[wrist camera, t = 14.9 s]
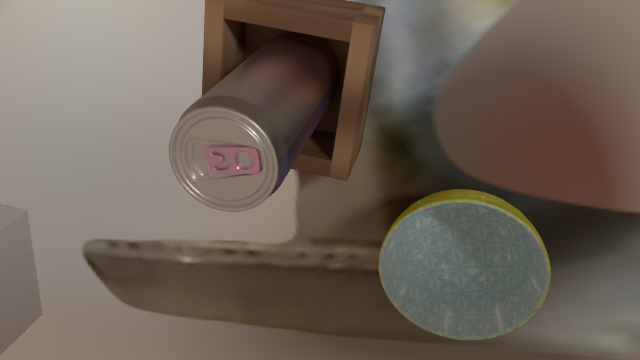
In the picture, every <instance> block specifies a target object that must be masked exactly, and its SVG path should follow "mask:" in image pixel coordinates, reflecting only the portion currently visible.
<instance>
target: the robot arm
mask: <svg viewBox="0 0 640 360" xmlns="http://www.w3.org/2000/svg"><path fill="white" fill-rule="evenodd" d="M41 315H42V311H41V304H40V296H39V290H38V282H37V276H36V269H35V262H34V255H33V248H32V241H31V235H30V228H29V220H28V214H27V211H26V210H23V209H19V208H15V207H12V206H8V205H4V204H0V355H1V354H2V353H3V352H4V351H5V350H6V349H7V348H8V347H9V346H10V345H11V344H12V343H13V342H14V341H15V340H16V339H17V338H18V337H19V336H20V335H21V334H22V333H23V332H24V331H25V330H26V329H27V328H28V327H29V326H30V325H31V324H32V323H33V322H34V321H35V320H36V319H37V318H38V317H39V316H41Z"/></svg>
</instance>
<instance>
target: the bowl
mask: <svg viewBox="0 0 640 360" xmlns="http://www.w3.org/2000/svg"><path fill="white" fill-rule="evenodd" d="M378 265H379V275H380V280H381V283H382V286H383V289H384V291H385V293H386V295H387V297H388V298H389V300H390V301H391V303H392V304H393V305H394V306H395V308H396V309H397V310H398V311H399V312H400V313H401V314H402V315H403V316H404V317H406V318H407V319H408V320H409V321H411V322H412V323H414V324H415V325H417V326H418V327H420V328H422V329H424V330H426V331H429V332H431V333H433V334H436V335H439V336H442V337H447V338H452V339H457V340H481V339H488V338H494V337H497V336H500V335H503V334H506V333H509V332H511V331H513V330H515V329H517V328H518V327H520V326H522V325H523V324H525V323H526V322H527V321H529V320H530V319H531V318H532V317H533V316H534V315H535V314H536V312H537V311H538V310H539V309H540V307H541V306H542V304H543V302H544V300H545V298H546V296H547V294H548V291H549V287H550V282H551V266H550V261H549V257H548V253H547V251H546V248H545V246H544V243H543V241H542V239H541V237H540V235H539V234H538V232H537V231H536V229H535V228H534V226H533V225H532V224H531V222H530V221H529V220H528V219H527V218H526V217H525V216H524V215H523V214H522V213H521V212H520V211H519V210H518V209H516V208H515V207H513V206H512V205H511V204H509V203H508V202H506V201H504V200H502V199H500V198H498V197H496V196H494V195H491V194H488V193H485V192H480V191H476V190H469V189H455V190H446V191H441V192H437V193H434V194H431V195H429V196H426V197H424V198H423V199H420V200H418V201H416V202H415V203H413V204H412V205H411V206H410V207H408V208H407V209H406V210H405V211H404V212H403V213H402V214H401V215H400V216H399V217H398V218H397V219H396V220H395V222H394V223H393V224H392V226H391V227H390V229H389V231H388V232H387V234H386V236H385V238H384V241H383V243H382V246H381V249H380V253H379V263H378Z"/></svg>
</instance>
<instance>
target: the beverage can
mask: <svg viewBox="0 0 640 360" xmlns="http://www.w3.org/2000/svg"><path fill="white" fill-rule="evenodd" d="M338 85H339V69H338V65H337V62H336V59H335V57H334V55H333V54H332V52H331V51H330V49H329V48H328V47H327V46H326V45H325V44H324V43H323V42H322V41H320V40H319V39H317V38H316V37H314V36H312V35H309V34H304V33H299V32H285V33H282V34H279V35H277V36H275V37H273V38H272V39H270V40H269V41H268V42H267V43H265V44H264V45H263V46H262V47H261V48H259V49H258V50H257V51H256V52H255V53H253V54H252V55H251V56H250V57H249V58H247V59H246V60H245V61H244V62H243V63H241V64H240V65H239V66H238V67H237V68H235V69H234V70H233V71H232V72H231V73H229V74H228V75H227V76H226V77H225V78H224V79H222V80H221V81H220V82H219V83H218V84H216V85H215V86H214V87H213V88H212V89H210V90H209V91H208V92H207V93H206V94H204V95H203V96H202V97H201V98H200V99H199V100H197V101H196V102H195V103H194V104H192V105H191V106H190V107H189V108H188V109H187V110H186V111H185V112H184V113H183V115H182V116H181V118H180V120H179V122H178V124H177V125H176V127H175V129H174V130H173V133H172V135H171V139H170V144H169V156H170V162H171V166H172V168H173V171H174V173H175V175H176V177H177V179H178V181H179V182H180V184H181V185H182V186H183V187H184V189H185V190H186V191H187V192H188V193H190V195H191V196H193V197H194V198H195V199H197V200H198V201H200V202H201V203H203V204H205V205H207V206H209V207H211V208H214V209H218V210H222V211H229V212H237V211H244V210H248V209H251V208H254V207H256V206H257V205H259V204H260V203H262V202H263V201H264V200H266V199H267V198H268V197H269V196H271V195H272V194H273V193H274V192H275V191H276V190H277V189H278V188H279V187H280V185H281V184H282V182H283V180H284V178H285V177H286V176H287V174H288V172H289V170H290V169H291V167H292V166H293V164H294V162H295V161H296V159H297V157H298V156H299V154H300V152H301V151H302V149H303V148H304V146H305V144H306V143H307V141H308V139H309V138H310V136H311V134H312V133H313V131H314V129H315V128H316V126H317V124H318V123H319V121H320V120H321V118H322V116H323V115H324V113H325V111H326V110H327V108H328V106H329V105H330V103H331V101H332V100H333V98H334V96H335V94H336V92H337V89H338Z"/></svg>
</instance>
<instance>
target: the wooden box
mask: <svg viewBox="0 0 640 360" xmlns="http://www.w3.org/2000/svg"><path fill="white" fill-rule="evenodd" d="M384 13H385V7H379V6H374V5H368V4H363V3H357V2H352V1H346V0H205V23H204V52H203V53H204V54H203V82H202V96H203V95H204V94H206V93H207V92H208V91H209V90H210V89H212V88H213V87H214V86H215V85H216V84H218V83H219V82H220V81H221V80H222V79H224V78H225V77H226V76H227V75H228V74H229V73H231V72H232V71H233V70H234V69H235V68H237V67H238V66H239V65H240V64H241V63H243V62H244V61H245V60H246V59H247V58H249V57H250V56H251V55H252V54H253V53H255V52H256V51H257V50H258V49H259V48H261V47H262V46H263V45H264V44H265V43H267V42H268V41H269V40H270V39H272V38H273V37H275V36H277V35H279V34H282V33H285V32H299V33H304V34H309V35H312V36H314V37H316V38H317V39H319V40H320V41H322V42H323V43H324V44H325V45H326V46H327V47H328V48H329V49H330V51H331V52H332V54H333V55H334V57H335V59H336V62H337V65H338V69H339V85H338V89H337V92H336V94H335V96H334V98H333V100H332V101H331V103H330V105H329V106H328V108H327V110H326V111H325V113H324V115H323V116H322V118H321V120H320V121H319V123H318V124H317V126H316V128H315V129H314V131H313V133H312V134H311V136H310V138H309V139H308V141H307V143H306V144H305V146H304V148H303V149H302V151H301V152H300V154H299V156H298V157H297V159H296V161H295V162H294V164H293V166H292V167H291V169H295V170H300V171H304V172H309V173H313V174H318V175H322V176H327V177H331V178H336V179H340V180H345V181H347V180H348V177H349V175H350V172H351V170H352V168H353V165H354V163H355V160H356V158H357V156H358V153H359V151H360V148H361V143H362V137H363V132H364V126H365V120H366V115H367V109H368V103H369V98H370V92H371V86H372V81H373V75H374V69H375V64H376V58H377V52H378V47H379V41H380V35H381V30H382V24H383V18H384Z"/></svg>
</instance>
